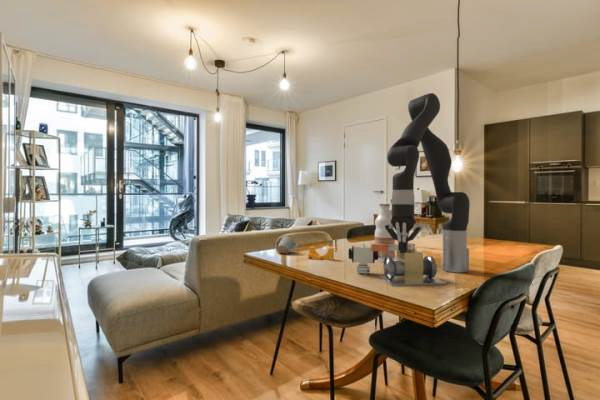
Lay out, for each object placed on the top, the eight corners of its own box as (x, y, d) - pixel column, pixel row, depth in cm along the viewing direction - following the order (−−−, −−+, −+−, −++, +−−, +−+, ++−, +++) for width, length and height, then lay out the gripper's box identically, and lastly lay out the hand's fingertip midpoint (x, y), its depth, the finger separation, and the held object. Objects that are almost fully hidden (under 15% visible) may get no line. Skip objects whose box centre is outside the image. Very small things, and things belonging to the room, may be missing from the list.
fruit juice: (370, 261, 154) (370, 203, 154) (383, 259, 159) (383, 203, 159) (385, 264, 146) (386, 204, 146) (398, 262, 152) (398, 204, 152)
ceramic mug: (281, 257, 171) (273, 247, 170) (288, 248, 177) (280, 237, 176) (294, 253, 164) (285, 242, 163) (301, 243, 170) (292, 232, 169)
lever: (416, 251, 117) (416, 244, 117) (372, 251, 116) (372, 244, 116) (412, 249, 121) (412, 243, 121) (369, 249, 120) (369, 243, 120)
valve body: (427, 275, 125) (427, 248, 125) (446, 284, 112) (446, 253, 112) (378, 277, 122) (379, 249, 122) (392, 286, 110) (392, 255, 109)
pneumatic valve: (378, 275, 125) (378, 245, 125) (348, 273, 128) (348, 244, 128) (377, 272, 131) (377, 243, 131) (349, 270, 133) (349, 242, 133)
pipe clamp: (307, 260, 156) (307, 247, 156) (311, 259, 160) (311, 246, 160) (330, 262, 152) (330, 249, 152) (333, 260, 155) (333, 247, 155)
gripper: (425, 203, 109) (425, 253, 109) (389, 202, 117) (389, 249, 117) (418, 203, 103) (418, 256, 103) (380, 203, 111) (380, 252, 111)
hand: (402, 252), depth 110 cm, fingers closed
